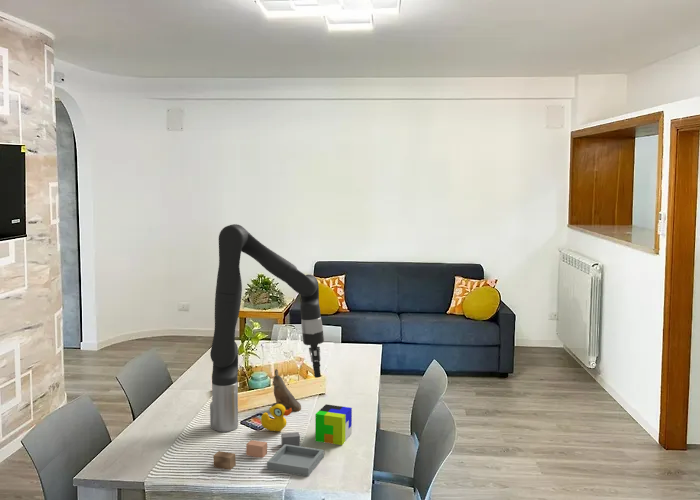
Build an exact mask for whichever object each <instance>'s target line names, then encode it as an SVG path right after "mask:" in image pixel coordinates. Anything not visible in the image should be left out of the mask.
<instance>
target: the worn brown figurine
mask: <svg viewBox="0 0 700 500" xmlns="http://www.w3.org/2000/svg"><path fill="white" fill-rule="evenodd" d="M274 375H275V376H273V379H272V384H273V397H274V399H275V402H273V403H272V404H271V407H273V406H274V405H276V404H282V405H283V406H284V407H285V409H286V410H289V409H290V408H291V409H292V411H291V413H292V412H296V413H297V412H300V411H301V410H302V405H301V403H300V402H299V401H298V400H297V399H296V398H295V396H294V395H293V394H292V393H291V391H290V390H289V389H288V387H287V386H286V383H285V382H284V380H283V378H282V376H281V375H279V370H278V368H276V369H275V370H274ZM271 407H270V408H271Z"/></svg>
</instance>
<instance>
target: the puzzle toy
mask: <svg viewBox="0 0 700 500" xmlns="http://www.w3.org/2000/svg"><path fill="white" fill-rule="evenodd" d="M352 409H353V407H348V406H347V407H346V406H341V405H333V404H325V405H324V406H322V407H321V408H320V409H319V410H318V411H317V412H316V413H315V417H314V418H315V422H314V423H315V433H314V434H315V442H319V443H324V442H325V443H324V444H332V445H338V446H343V445H344V444H345V443H346V442H347V440H348V439H349V438H350V437H351V436H352V433H353V432H352V430H353V429H352V428H353V427H352V426H353V425H352V423H353V422H352V415H353V413H352V412H353V410H352ZM344 442H345V443H344Z"/></svg>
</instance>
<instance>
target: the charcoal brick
mask: <svg viewBox="0 0 700 500" xmlns="http://www.w3.org/2000/svg"><path fill="white" fill-rule="evenodd" d="M280 435H281V436H280V438H281V439H280V440H281V441H280V443H281V447H282V446H283V445H284V444H288V445H294V446H301V435H300V432H299V431H296V432H282V433H281V434H280Z"/></svg>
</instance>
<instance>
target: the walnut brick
mask: <svg viewBox="0 0 700 500" xmlns="http://www.w3.org/2000/svg"><path fill="white" fill-rule="evenodd" d="M212 457H213V460H212V461H213V468H216V469H223V470H228V471H231V470H232V469H233V468H234V467H236V465H237V462H236V461H237V459H236V453H233V452H227V451H222V450H221V451H220V450H218V451H217V452H216V453H215V454H213V456H212Z"/></svg>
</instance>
